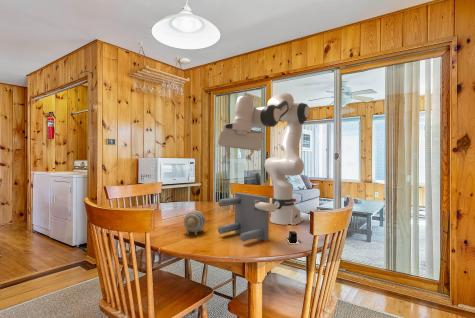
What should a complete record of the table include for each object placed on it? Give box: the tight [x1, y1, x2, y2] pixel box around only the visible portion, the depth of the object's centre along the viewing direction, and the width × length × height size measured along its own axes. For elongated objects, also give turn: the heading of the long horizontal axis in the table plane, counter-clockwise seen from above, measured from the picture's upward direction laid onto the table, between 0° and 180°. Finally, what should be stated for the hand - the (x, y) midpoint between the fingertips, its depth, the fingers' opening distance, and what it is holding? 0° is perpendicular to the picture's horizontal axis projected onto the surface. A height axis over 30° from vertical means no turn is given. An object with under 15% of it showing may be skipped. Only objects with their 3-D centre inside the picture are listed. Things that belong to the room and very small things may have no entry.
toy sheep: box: [183, 210, 206, 236], centre depth 137 cm, size 11×17×11 cm, turn 175°
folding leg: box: [254, 200, 276, 213], centre depth 122 cm, size 11×4×4 cm, turn 45°
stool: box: [217, 192, 270, 242], centre depth 129 cm, size 14×20×20 cm
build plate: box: [286, 230, 298, 243], centre depth 126 cm, size 12×7×5 cm, turn 0°
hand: (238, 158), depth 124 cm, fingers open, 8 cm apart
